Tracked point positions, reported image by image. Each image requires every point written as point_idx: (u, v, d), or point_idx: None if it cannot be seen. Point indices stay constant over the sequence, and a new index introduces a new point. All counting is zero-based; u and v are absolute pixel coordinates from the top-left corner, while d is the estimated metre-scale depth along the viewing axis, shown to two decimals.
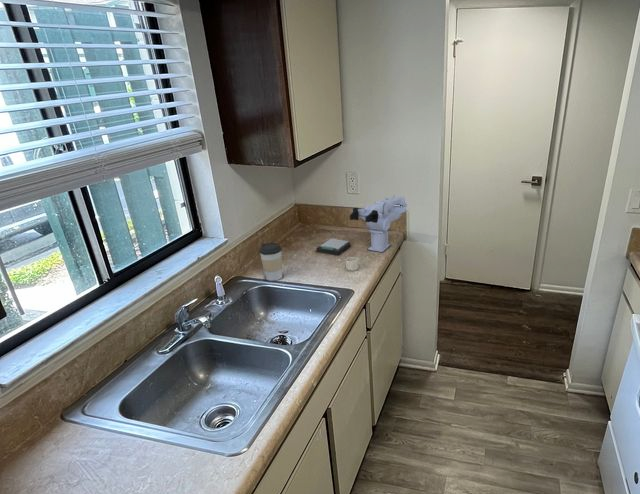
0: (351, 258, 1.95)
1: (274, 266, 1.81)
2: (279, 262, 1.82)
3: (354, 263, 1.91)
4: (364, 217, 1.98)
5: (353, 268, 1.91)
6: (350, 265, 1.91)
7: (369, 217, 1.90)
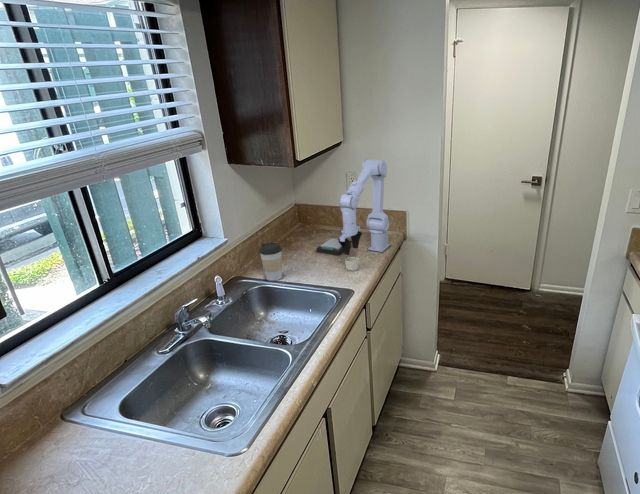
0: (351, 258, 1.95)
1: (274, 266, 1.81)
2: (279, 262, 1.82)
3: (354, 263, 1.91)
4: None
5: (353, 268, 1.91)
6: (350, 265, 1.91)
7: (345, 249, 1.86)
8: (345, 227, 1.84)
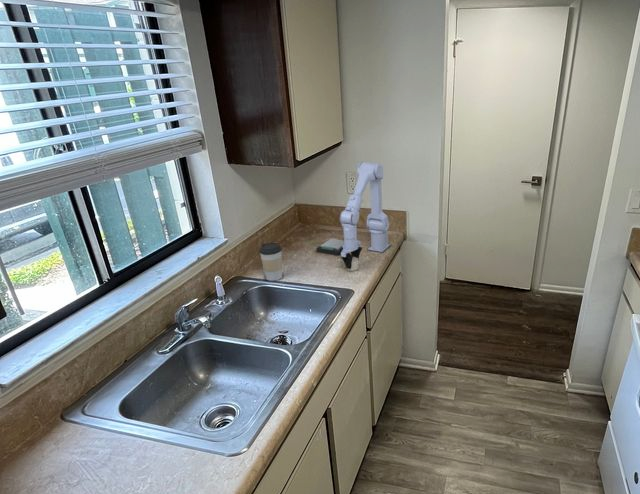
0: None
1: (274, 266, 1.81)
2: (279, 262, 1.82)
3: (354, 263, 1.91)
4: None
5: (353, 268, 1.91)
6: None
7: (346, 264, 1.90)
8: (346, 242, 1.86)
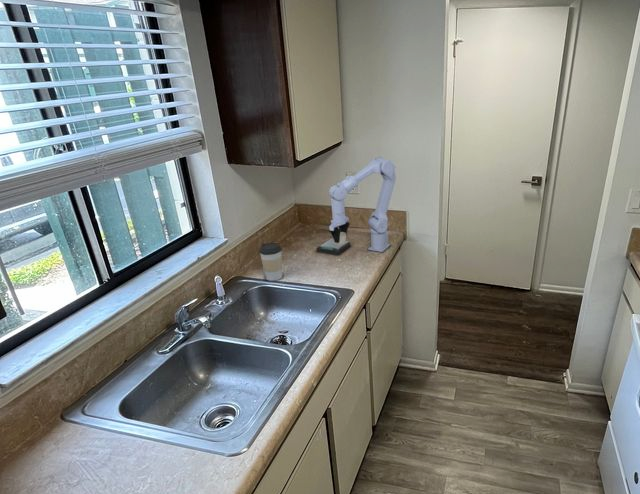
0: None
1: (274, 266, 1.81)
2: (279, 262, 1.82)
3: (342, 237, 2.00)
4: None
5: (341, 242, 2.00)
6: None
7: (335, 238, 1.99)
8: (334, 217, 1.96)
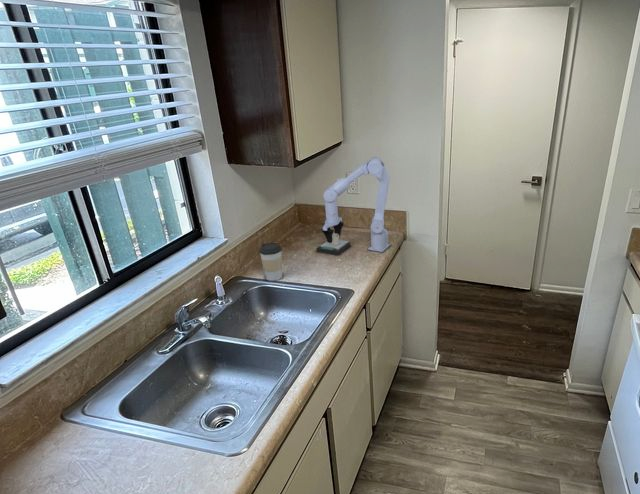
0: (333, 234, 2.14)
1: (274, 266, 1.81)
2: (279, 262, 1.82)
3: (335, 239, 2.10)
4: None
5: (334, 243, 2.11)
6: (332, 240, 2.10)
7: (327, 238, 2.08)
8: (328, 217, 2.06)
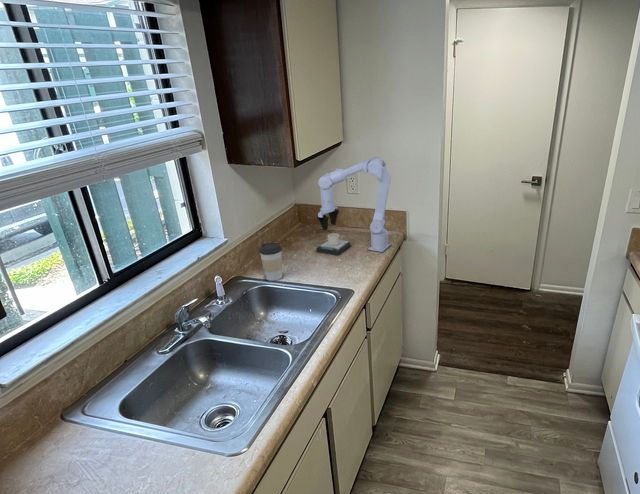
0: (333, 234, 2.14)
1: (274, 266, 1.81)
2: (279, 262, 1.82)
3: (335, 239, 2.10)
4: None
5: (334, 243, 2.11)
6: (332, 240, 2.10)
7: (323, 225, 2.08)
8: (323, 204, 2.06)
